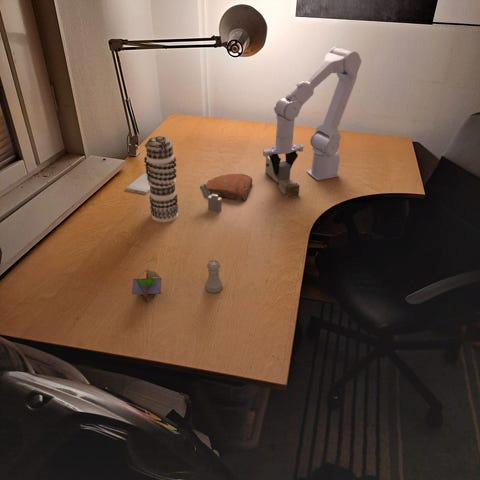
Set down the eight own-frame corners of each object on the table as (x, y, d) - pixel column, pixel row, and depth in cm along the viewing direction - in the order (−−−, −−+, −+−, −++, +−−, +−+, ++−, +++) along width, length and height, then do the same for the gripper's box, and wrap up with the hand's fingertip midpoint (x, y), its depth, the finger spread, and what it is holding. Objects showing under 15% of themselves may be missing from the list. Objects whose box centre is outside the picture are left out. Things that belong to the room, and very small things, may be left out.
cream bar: (268, 171, 169) (269, 155, 166) (280, 182, 162) (281, 166, 158) (263, 171, 169) (264, 156, 165) (275, 183, 161) (276, 167, 158)
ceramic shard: (214, 165, 161) (254, 175, 160) (211, 181, 164) (250, 192, 163) (203, 178, 148) (247, 189, 147) (200, 195, 151) (243, 206, 150)
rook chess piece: (204, 282, 114) (204, 257, 110) (222, 282, 115) (222, 256, 110) (205, 294, 111) (204, 268, 106) (223, 293, 111) (223, 267, 106)
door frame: (271, 170, 171) (272, 155, 167) (299, 195, 154) (301, 179, 151) (260, 171, 169) (261, 157, 166) (288, 197, 153) (289, 182, 149)
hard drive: (143, 173, 164) (125, 187, 154) (163, 176, 162) (146, 191, 152) (143, 177, 165) (125, 191, 155) (163, 180, 163) (147, 195, 153)
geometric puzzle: (160, 303, 104) (159, 269, 105) (130, 304, 104) (129, 270, 104) (162, 301, 111) (162, 269, 112) (134, 302, 111) (134, 269, 111)
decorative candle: (171, 225, 137) (165, 147, 123) (144, 219, 139) (136, 142, 125) (184, 211, 144) (180, 136, 130) (159, 205, 146) (152, 131, 132)
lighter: (221, 209, 145) (221, 187, 141) (219, 212, 144) (219, 189, 139) (202, 204, 148) (202, 182, 143) (200, 206, 146) (199, 184, 142)
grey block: (284, 173, 160) (285, 161, 158) (289, 178, 157) (290, 165, 155) (274, 175, 159) (275, 162, 156) (279, 180, 156) (280, 167, 153)
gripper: (297, 129, 156) (294, 165, 163) (260, 134, 151) (258, 171, 158) (308, 136, 150) (303, 173, 158) (269, 141, 146) (266, 179, 153)
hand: (281, 172), depth 158 cm, fingers closed on grey block, 4 cm apart
